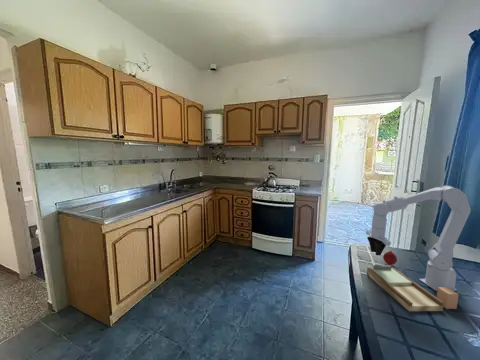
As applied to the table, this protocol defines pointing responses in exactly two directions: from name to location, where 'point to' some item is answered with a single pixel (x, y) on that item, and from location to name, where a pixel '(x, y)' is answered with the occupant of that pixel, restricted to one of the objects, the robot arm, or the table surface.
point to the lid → (390, 275)
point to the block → (448, 297)
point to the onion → (390, 258)
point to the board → (409, 294)
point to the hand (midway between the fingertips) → (375, 253)
